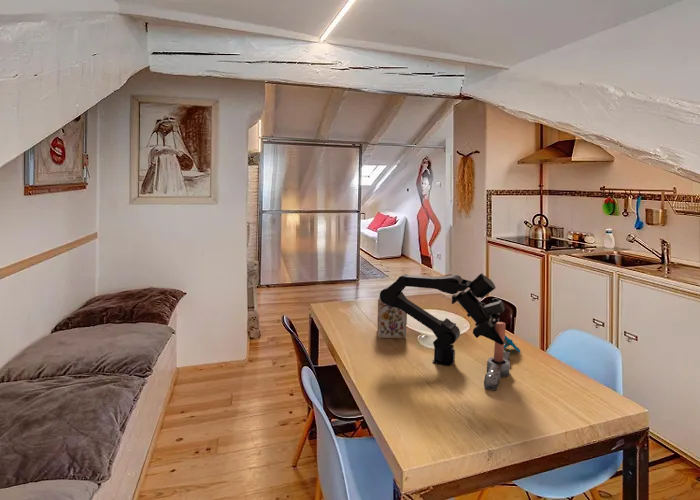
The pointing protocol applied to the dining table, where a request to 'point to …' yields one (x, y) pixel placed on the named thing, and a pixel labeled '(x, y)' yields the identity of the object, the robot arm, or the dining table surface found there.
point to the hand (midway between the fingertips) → (503, 342)
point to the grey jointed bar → (496, 371)
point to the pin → (498, 347)
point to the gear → (510, 343)
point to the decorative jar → (391, 321)
